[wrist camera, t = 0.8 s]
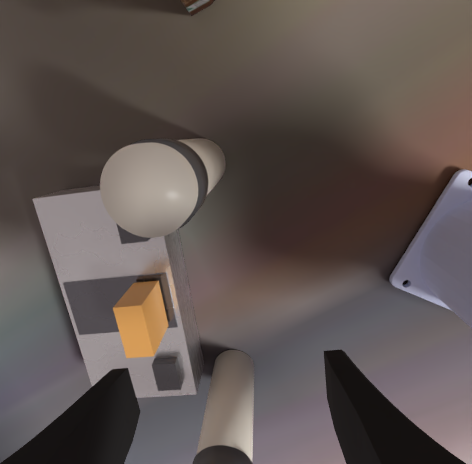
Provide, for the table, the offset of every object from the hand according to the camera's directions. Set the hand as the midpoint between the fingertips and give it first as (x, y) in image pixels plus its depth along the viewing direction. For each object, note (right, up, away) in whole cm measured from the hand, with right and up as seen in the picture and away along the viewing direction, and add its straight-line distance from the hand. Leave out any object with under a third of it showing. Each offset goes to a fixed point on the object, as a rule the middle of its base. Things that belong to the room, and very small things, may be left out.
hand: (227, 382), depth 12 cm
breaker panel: (-6, +2, +11) cm, 13 cm away
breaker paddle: (-5, +1, +7) cm, 9 cm away
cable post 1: (-2, +10, +8) cm, 13 cm away
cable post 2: (0, -5, +12) cm, 13 cm away
